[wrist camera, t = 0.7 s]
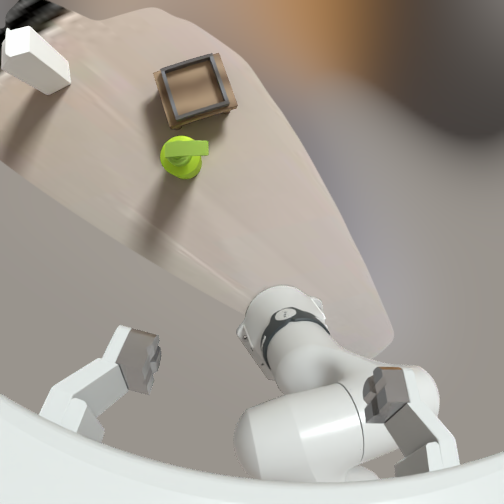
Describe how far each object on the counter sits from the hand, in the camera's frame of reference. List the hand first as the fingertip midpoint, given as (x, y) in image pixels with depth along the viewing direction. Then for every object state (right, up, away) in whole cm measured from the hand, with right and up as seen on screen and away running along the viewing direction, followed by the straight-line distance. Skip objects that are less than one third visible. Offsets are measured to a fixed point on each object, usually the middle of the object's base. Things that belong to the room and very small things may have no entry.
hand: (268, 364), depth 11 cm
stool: (-11, +33, +41) cm, 54 cm away
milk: (-41, +40, +36) cm, 67 cm away
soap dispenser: (-12, +20, +44) cm, 50 cm away
